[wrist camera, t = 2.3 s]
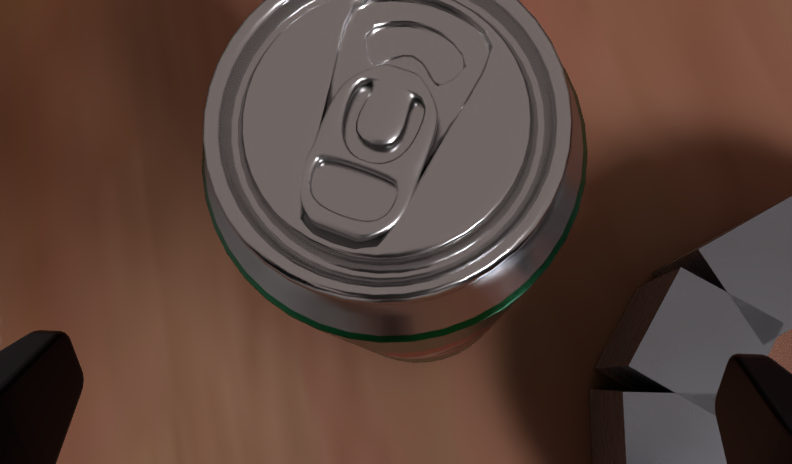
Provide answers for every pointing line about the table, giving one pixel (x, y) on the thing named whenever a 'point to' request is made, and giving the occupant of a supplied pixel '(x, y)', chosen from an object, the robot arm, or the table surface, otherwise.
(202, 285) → the table surface
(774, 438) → the robot arm
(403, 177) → the soda can
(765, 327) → the ring
